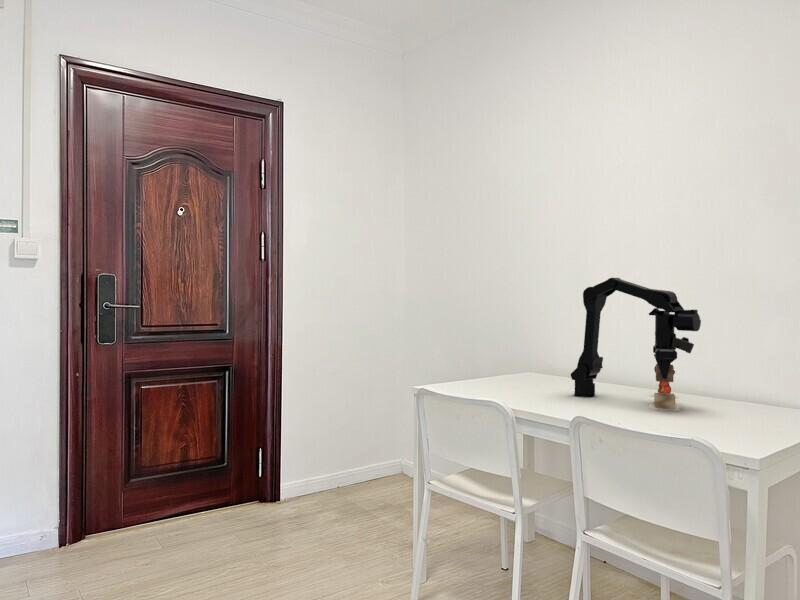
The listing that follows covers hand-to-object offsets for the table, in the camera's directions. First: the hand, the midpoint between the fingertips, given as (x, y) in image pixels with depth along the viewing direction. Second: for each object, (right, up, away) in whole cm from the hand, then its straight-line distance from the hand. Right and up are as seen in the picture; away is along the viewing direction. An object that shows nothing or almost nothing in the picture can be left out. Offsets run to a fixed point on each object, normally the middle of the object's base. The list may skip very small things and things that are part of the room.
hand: (664, 377), depth 197 cm
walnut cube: (0, -1, 0) cm, 1 cm away
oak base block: (0, -10, 0) cm, 10 cm away
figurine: (+8, -10, +19) cm, 23 cm away
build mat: (-4, -10, +3) cm, 11 cm away
